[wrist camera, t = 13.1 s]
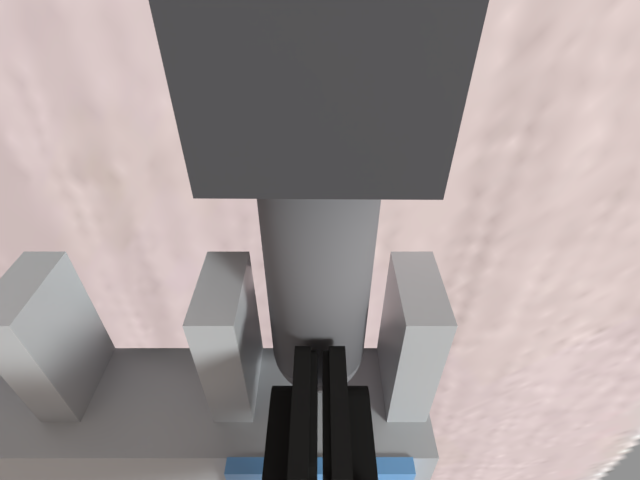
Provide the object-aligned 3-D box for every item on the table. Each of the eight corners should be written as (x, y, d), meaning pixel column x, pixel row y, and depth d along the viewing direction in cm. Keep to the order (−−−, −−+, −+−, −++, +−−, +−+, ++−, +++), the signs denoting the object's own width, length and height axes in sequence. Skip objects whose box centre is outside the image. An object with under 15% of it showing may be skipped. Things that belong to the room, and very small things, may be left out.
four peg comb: (-165, 251, 15) (-357, 383, 11) (437, 251, 15) (484, 383, 11) (-35, 384, 21) (-127, 506, 17) (406, 384, 21) (428, 506, 17)
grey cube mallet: (206, -118, 9) (116, -145, 5) (433, -117, 9) (522, -143, 5) (264, 336, 19) (249, 447, 15) (372, 337, 19) (386, 448, 15)
